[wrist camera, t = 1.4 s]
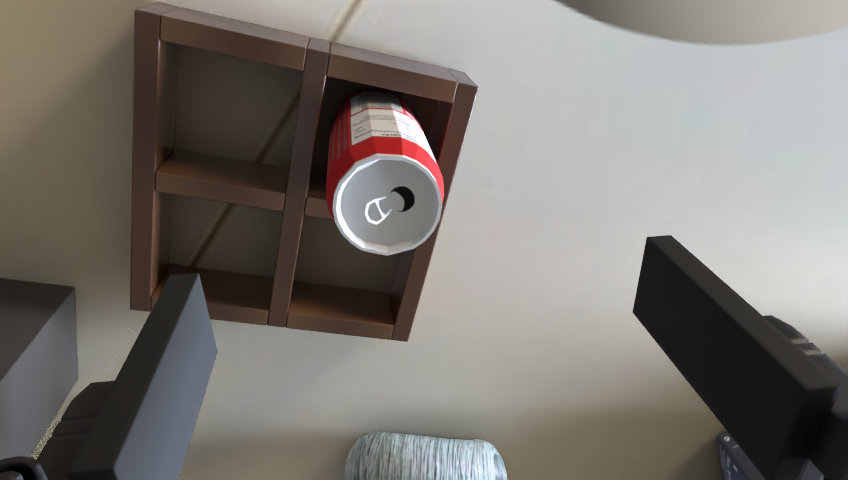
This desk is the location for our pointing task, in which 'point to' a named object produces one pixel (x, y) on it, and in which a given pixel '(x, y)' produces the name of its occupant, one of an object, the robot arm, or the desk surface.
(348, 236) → the soda can
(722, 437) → the small box
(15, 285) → the block
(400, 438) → the yarn skein
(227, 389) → the desk surface
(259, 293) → the can rack
